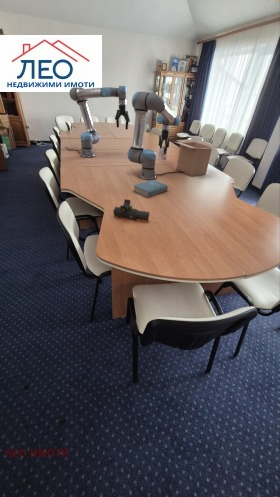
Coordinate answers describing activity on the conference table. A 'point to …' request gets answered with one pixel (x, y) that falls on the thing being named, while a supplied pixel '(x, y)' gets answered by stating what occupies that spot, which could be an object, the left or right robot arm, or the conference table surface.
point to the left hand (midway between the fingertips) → (122, 128)
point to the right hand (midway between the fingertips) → (162, 153)
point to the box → (194, 157)
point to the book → (150, 188)
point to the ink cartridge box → (162, 154)
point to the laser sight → (130, 212)
